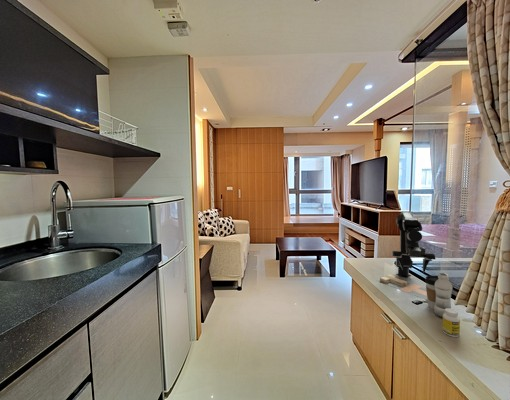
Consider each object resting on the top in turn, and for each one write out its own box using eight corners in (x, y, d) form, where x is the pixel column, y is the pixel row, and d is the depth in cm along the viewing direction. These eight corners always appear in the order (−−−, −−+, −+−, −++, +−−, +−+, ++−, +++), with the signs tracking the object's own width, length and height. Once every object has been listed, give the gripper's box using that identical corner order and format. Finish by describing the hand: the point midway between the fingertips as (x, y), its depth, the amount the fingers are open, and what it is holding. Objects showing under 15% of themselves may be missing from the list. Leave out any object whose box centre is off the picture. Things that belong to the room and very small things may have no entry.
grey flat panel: (390, 276, 154) (390, 275, 154) (442, 294, 128) (442, 293, 128) (376, 281, 148) (376, 280, 148) (427, 300, 122) (427, 300, 122)
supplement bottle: (452, 338, 93) (453, 315, 92) (439, 330, 98) (439, 308, 97) (463, 336, 94) (463, 312, 93) (449, 328, 99) (449, 306, 98)
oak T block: (392, 276, 152) (392, 274, 152) (410, 283, 142) (410, 280, 141) (379, 280, 147) (379, 277, 147) (398, 288, 136) (398, 284, 136)
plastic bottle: (430, 312, 111) (430, 272, 110) (444, 312, 111) (445, 271, 110) (440, 320, 105) (441, 277, 103) (456, 320, 104) (456, 277, 103)
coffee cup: (450, 312, 111) (450, 281, 110) (430, 310, 113) (430, 280, 112) (440, 303, 119) (440, 274, 118) (421, 302, 121) (421, 274, 120)
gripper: (393, 240, 122) (394, 271, 119) (437, 243, 114) (439, 275, 112) (391, 240, 132) (392, 269, 129) (431, 243, 124) (433, 273, 122)
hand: (413, 271), depth 123 cm, fingers open, 9 cm apart
